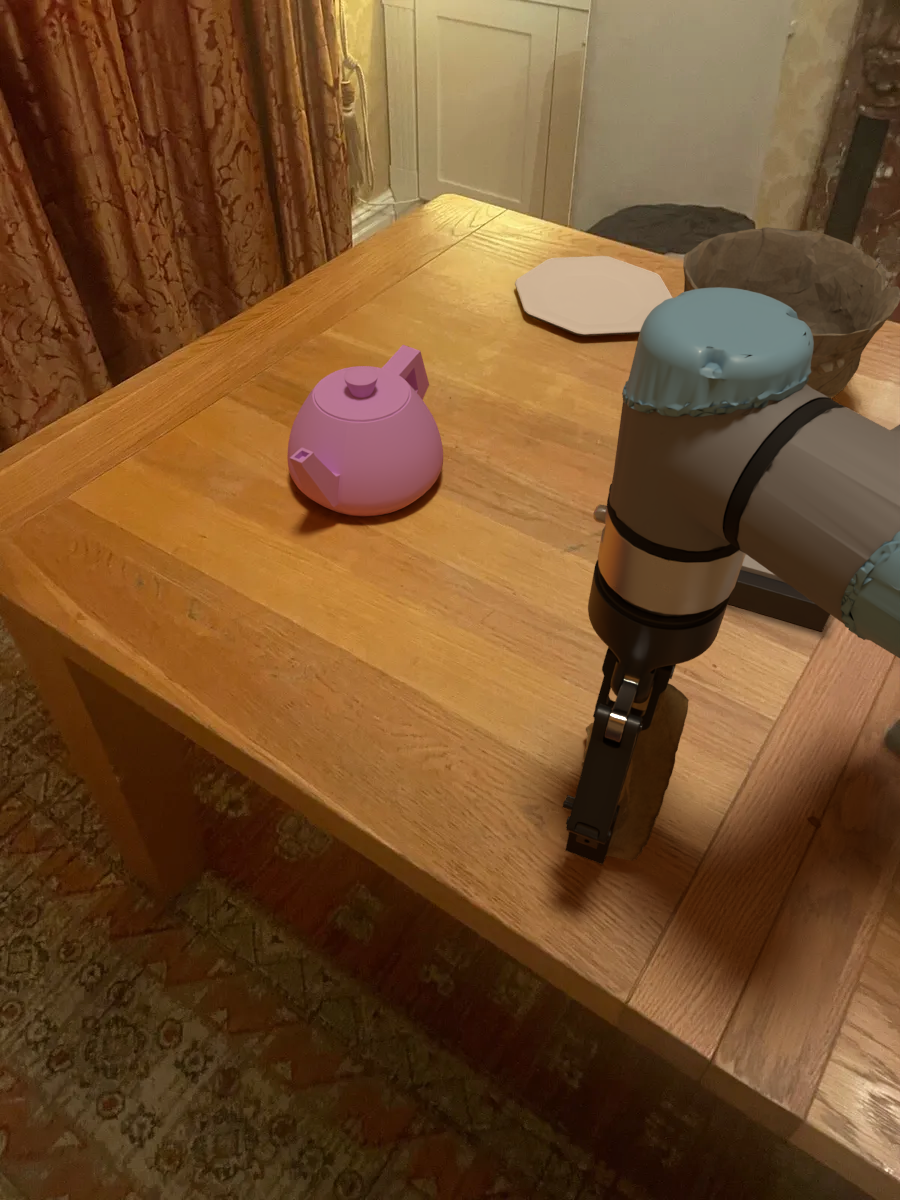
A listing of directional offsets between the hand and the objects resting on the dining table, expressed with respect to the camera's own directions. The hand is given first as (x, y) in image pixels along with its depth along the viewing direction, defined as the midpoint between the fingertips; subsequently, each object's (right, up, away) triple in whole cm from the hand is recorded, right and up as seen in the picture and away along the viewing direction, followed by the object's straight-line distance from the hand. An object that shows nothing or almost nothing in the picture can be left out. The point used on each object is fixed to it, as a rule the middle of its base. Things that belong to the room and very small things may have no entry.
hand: (608, 788), depth 66 cm
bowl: (+23, +37, +38) cm, 58 cm away
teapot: (-20, +26, +27) cm, 43 cm away
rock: (0, -1, 0) cm, 1 cm away
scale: (+17, +19, +21) cm, 33 cm away
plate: (+7, +52, +52) cm, 75 cm away
